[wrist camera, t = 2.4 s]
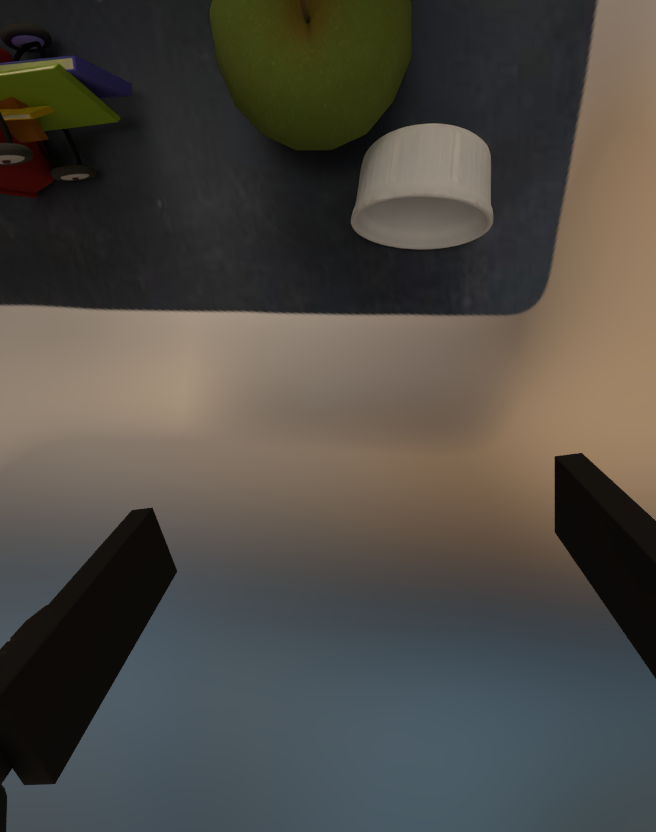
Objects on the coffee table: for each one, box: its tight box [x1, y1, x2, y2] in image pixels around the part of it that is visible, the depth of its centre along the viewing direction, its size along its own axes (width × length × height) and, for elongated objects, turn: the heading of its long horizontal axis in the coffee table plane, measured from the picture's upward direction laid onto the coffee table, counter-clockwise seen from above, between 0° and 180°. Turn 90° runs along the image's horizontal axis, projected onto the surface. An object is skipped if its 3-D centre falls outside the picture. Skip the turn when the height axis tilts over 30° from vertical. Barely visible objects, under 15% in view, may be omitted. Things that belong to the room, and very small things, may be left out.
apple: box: [209, 0, 412, 150], centre depth 24 cm, size 11×10×10 cm
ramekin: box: [351, 123, 493, 249], centre depth 27 cm, size 9×9×4 cm
